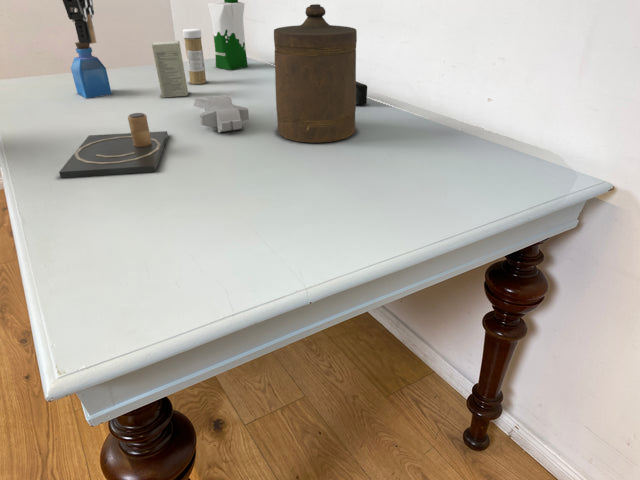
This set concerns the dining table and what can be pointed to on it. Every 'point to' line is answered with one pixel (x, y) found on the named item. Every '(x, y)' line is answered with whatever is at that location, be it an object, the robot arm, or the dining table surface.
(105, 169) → the slate board
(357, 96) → the mobile phone
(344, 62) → the wooden container
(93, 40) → the peg left
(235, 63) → the milk carton
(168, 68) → the cosmetic box
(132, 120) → the peg right
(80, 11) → the robot arm
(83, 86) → the perfume bottle
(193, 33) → the sprinkles bottle
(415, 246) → the dining table surface
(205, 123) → the grey angular block
